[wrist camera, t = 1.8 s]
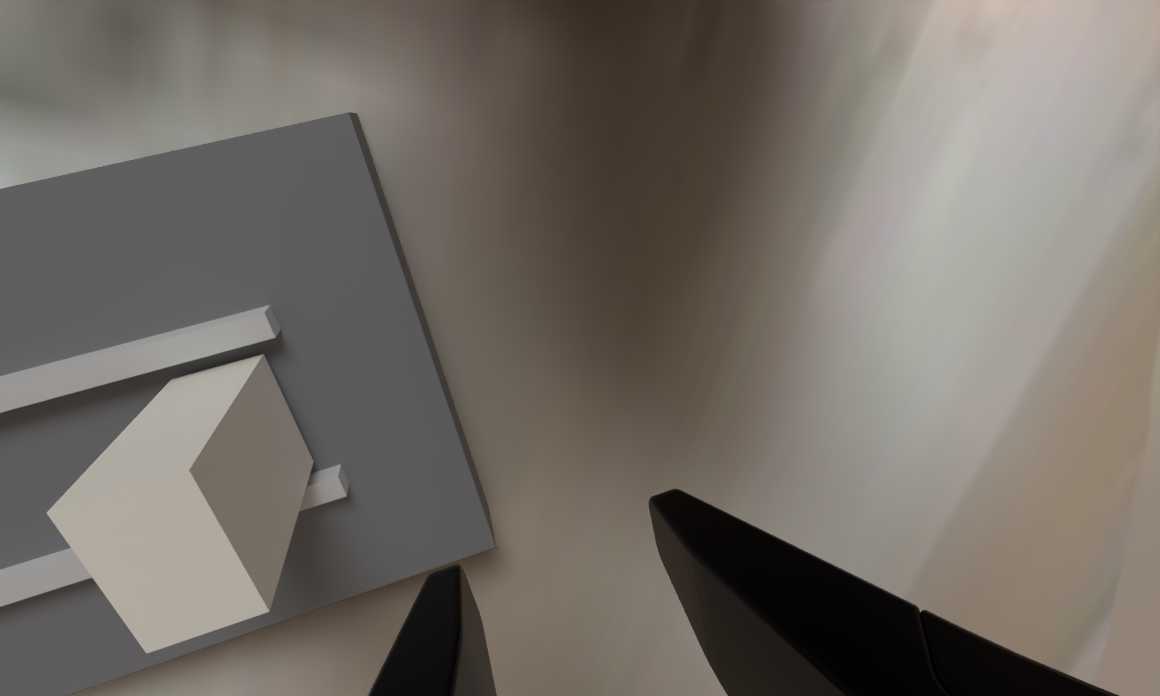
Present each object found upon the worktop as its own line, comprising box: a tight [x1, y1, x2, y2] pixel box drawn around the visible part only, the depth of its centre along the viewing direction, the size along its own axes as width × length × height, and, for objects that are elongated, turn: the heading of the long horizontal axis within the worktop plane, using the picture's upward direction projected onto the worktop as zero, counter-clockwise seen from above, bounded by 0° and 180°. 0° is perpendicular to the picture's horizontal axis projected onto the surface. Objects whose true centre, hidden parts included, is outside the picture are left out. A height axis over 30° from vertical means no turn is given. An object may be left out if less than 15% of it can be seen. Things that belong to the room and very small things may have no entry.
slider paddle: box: [47, 354, 314, 654], centre depth 12 cm, size 2×3×5 cm, turn 13°
